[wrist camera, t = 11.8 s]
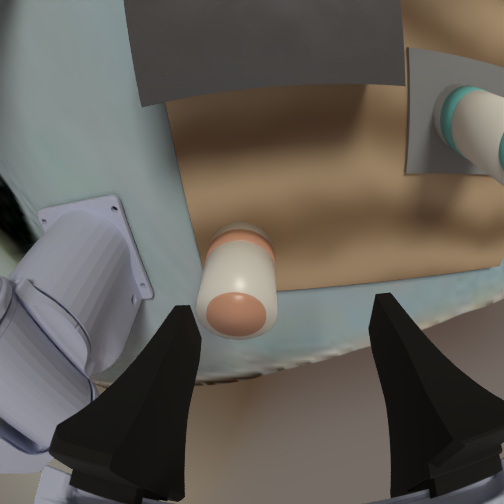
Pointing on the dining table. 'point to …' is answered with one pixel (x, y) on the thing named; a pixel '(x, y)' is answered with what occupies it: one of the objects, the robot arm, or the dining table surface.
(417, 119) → the mat
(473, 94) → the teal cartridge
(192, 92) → the box
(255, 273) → the cylinder
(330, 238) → the board
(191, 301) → the dining table surface
